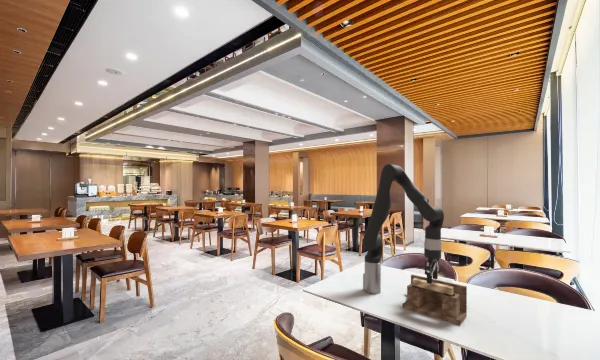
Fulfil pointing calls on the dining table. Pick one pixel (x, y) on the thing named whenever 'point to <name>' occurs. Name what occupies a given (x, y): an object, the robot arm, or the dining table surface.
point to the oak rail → (434, 286)
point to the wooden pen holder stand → (438, 301)
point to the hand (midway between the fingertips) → (432, 281)
